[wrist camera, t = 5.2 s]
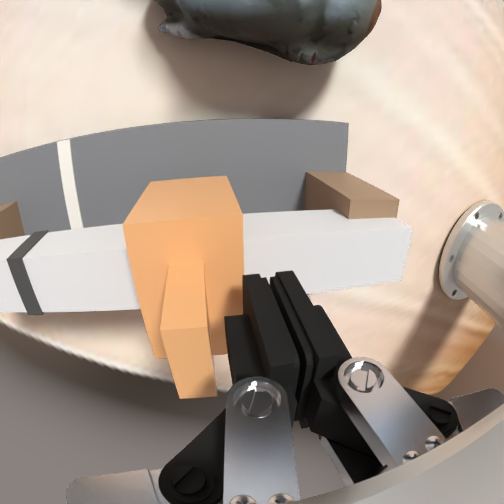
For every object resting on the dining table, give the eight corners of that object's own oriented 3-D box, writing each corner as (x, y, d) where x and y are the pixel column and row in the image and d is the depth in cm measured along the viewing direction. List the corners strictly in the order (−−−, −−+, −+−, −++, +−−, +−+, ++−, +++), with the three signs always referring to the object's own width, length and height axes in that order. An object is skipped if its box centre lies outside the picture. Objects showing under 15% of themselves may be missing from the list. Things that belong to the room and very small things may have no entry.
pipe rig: (339, 122, 19) (427, 138, 11) (326, 267, 25) (381, 343, 16) (-6, 159, 15) (-87, 197, 7) (27, 290, 21) (-19, 363, 12)
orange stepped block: (226, 175, 15) (264, 265, 7) (230, 278, 18) (260, 415, 9) (150, 181, 14) (90, 279, 6) (164, 283, 17) (150, 423, 9)
